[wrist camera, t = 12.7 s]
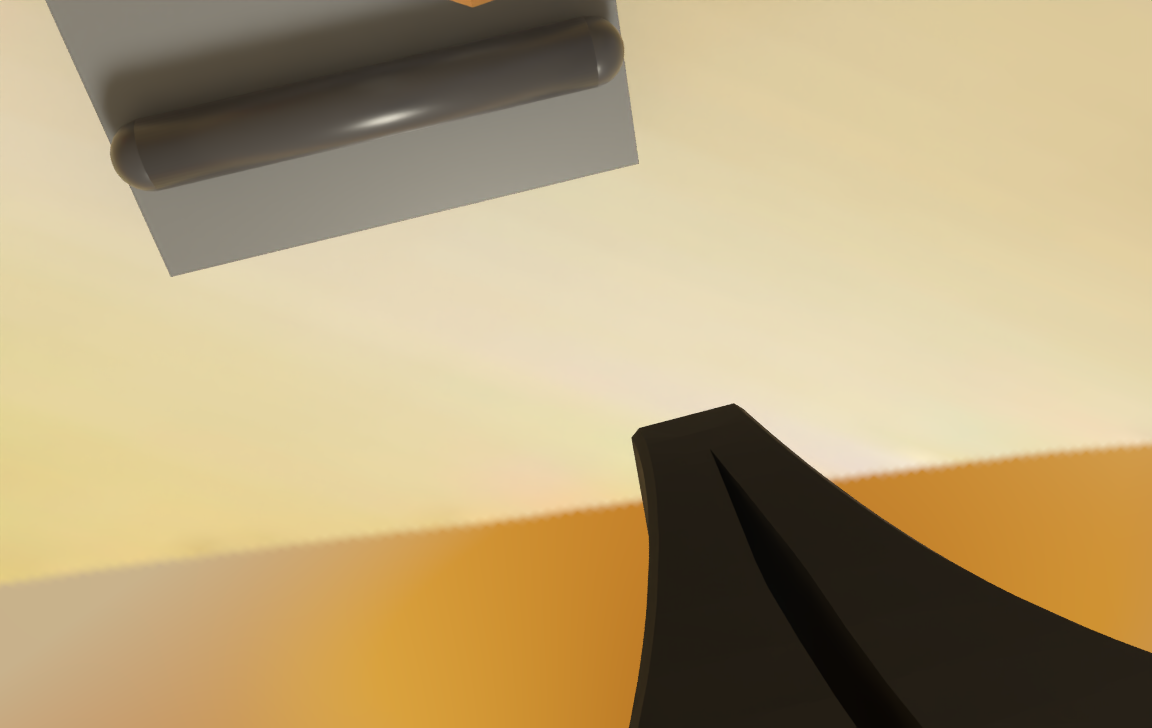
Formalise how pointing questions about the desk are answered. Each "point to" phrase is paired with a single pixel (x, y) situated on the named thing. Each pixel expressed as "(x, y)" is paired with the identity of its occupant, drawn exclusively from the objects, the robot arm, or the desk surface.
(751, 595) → the robot arm
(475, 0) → the lever
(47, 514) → the desk surface
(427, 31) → the strip
